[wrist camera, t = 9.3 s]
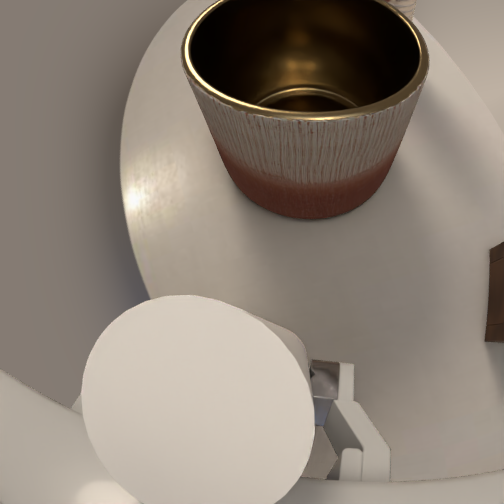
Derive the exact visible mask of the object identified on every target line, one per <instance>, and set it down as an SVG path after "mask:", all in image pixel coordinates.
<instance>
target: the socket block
mask: <svg viewBox="0 0 504 504" xmlns="http://www.w3.org/2000/svg"><path fill="white" fill-rule="evenodd" d="M485 342H498V343H504V242H502V243H501V244H499V245H497V246H495V247H493V248H492V249H490V281H489V301H488V314H487V326H486V334H485Z"/></svg>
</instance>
